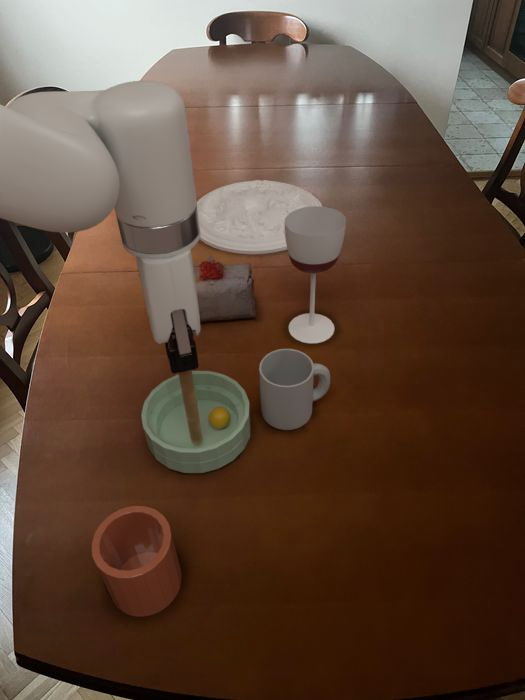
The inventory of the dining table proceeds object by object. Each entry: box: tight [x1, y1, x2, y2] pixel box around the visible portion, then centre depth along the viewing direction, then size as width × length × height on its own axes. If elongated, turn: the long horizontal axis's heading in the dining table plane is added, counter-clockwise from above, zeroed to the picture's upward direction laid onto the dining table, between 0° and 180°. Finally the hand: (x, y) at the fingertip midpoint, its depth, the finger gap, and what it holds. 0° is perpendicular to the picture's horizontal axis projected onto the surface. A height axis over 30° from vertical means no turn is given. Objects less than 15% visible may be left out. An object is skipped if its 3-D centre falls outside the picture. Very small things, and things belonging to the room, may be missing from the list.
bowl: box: [140, 370, 252, 474], centre depth 80 cm, size 14×14×5 cm
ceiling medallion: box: [196, 179, 324, 255], centre depth 122 cm, size 28×28×3 cm
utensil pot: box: [91, 505, 183, 618], centre depth 63 cm, size 8×8×9 cm
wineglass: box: [285, 206, 347, 344], centre depth 90 cm, size 8×9×20 cm
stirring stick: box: [172, 335, 203, 445], centre depth 72 cm, size 2×2×20 cm
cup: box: [258, 348, 331, 431], centre depth 81 cm, size 7×10×9 cm
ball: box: [208, 407, 230, 429], centre depth 80 cm, size 3×3×3 cm
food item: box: [193, 255, 258, 323], centre depth 97 cm, size 14×8×10 cm, turn 95°
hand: (183, 362), depth 68 cm, fingers closed on stirring stick, 1 cm apart
